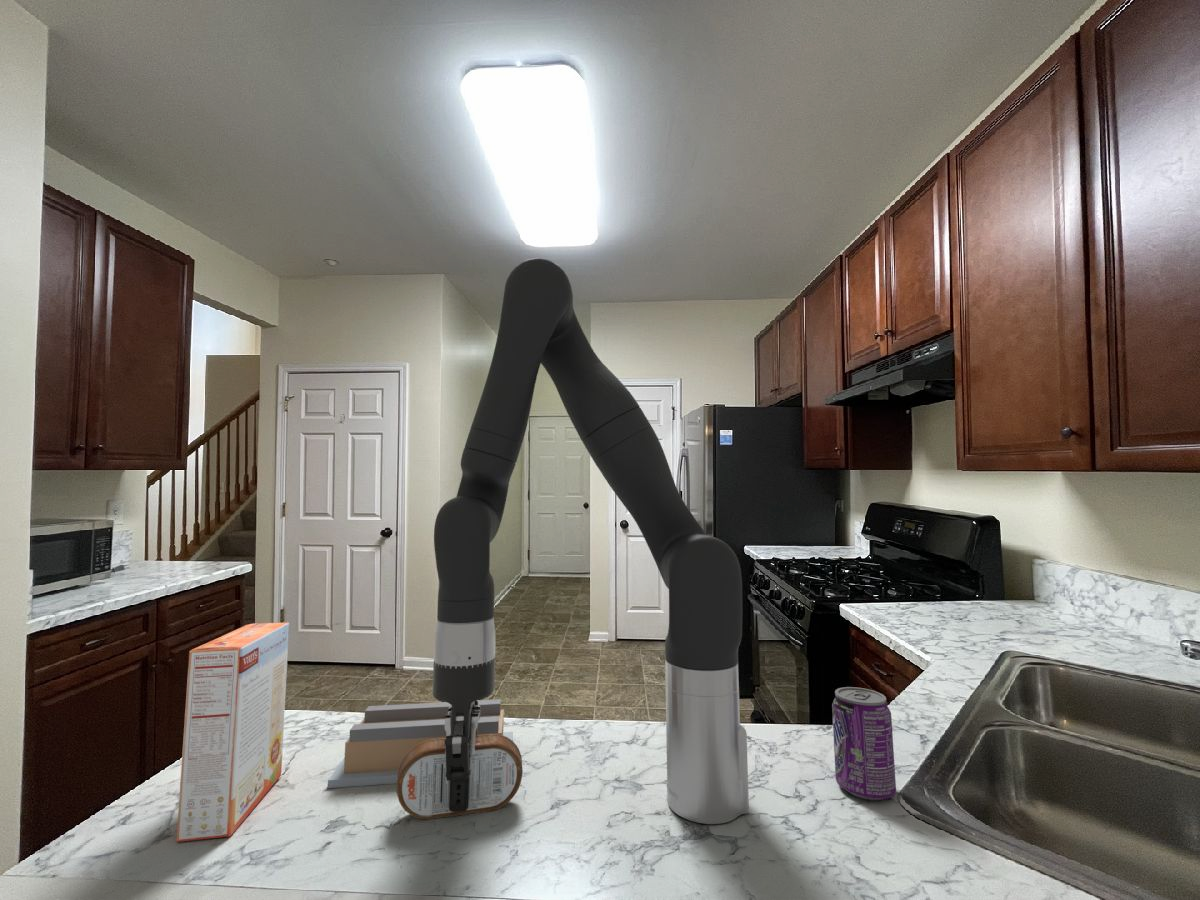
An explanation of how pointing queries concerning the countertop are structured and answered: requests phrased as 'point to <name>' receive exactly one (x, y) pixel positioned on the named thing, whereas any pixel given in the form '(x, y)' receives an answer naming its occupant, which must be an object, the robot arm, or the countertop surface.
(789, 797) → the countertop surface
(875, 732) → the beverage can
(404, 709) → the grey tan slotted stand
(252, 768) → the cracker box
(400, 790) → the tin
